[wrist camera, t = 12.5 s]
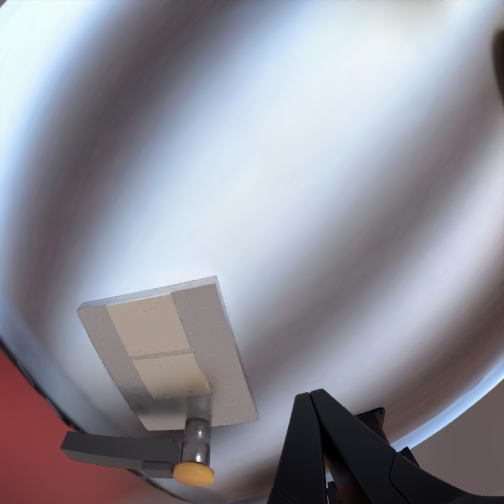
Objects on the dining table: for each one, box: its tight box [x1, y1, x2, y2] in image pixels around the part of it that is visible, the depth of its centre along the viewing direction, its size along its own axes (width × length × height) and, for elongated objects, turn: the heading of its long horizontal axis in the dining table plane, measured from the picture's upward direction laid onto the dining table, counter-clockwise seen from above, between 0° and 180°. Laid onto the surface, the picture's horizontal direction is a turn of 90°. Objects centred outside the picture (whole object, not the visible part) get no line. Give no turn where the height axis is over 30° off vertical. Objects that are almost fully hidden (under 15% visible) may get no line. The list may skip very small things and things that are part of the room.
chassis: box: [77, 276, 259, 467], centre depth 19 cm, size 15×11×6 cm
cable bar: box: [60, 431, 214, 487], centre depth 18 cm, size 15×3×4 cm, turn 100°
